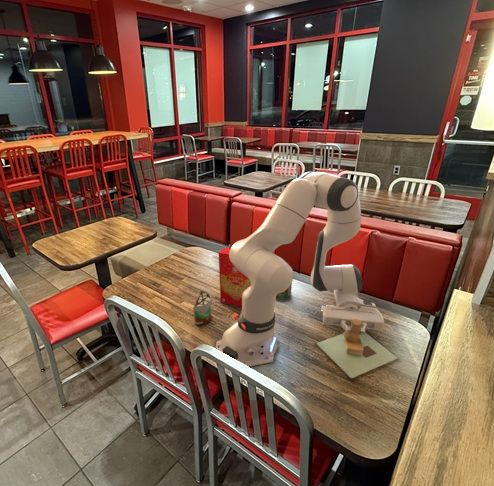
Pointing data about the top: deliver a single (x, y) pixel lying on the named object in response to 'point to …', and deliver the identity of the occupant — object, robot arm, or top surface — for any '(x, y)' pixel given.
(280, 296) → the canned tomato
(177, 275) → the top surface
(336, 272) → the robot arm
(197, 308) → the food container
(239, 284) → the food packaging
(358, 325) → the wooden block stack
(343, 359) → the mat
